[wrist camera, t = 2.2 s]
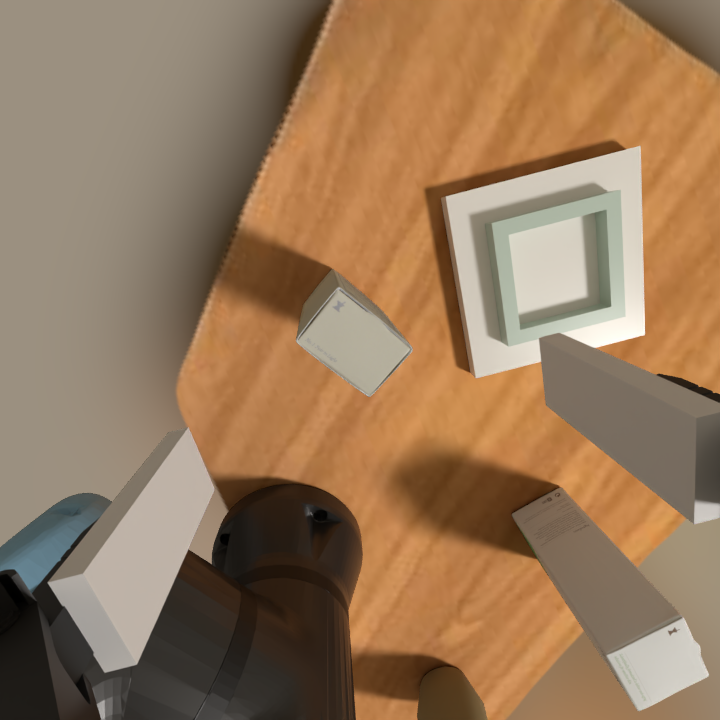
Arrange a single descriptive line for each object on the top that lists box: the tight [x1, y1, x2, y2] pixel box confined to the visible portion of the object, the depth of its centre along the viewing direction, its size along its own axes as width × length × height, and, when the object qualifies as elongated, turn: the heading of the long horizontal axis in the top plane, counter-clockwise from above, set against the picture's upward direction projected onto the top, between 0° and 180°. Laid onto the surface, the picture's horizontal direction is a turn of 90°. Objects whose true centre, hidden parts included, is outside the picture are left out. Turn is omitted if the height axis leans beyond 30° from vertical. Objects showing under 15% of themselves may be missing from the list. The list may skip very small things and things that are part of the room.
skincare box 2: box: [512, 487, 709, 711], centre depth 37 cm, size 8×7×16 cm
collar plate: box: [441, 146, 645, 378], centre depth 35 cm, size 16×16×3 cm
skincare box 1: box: [296, 269, 413, 397], centre depth 30 cm, size 6×4×12 cm
